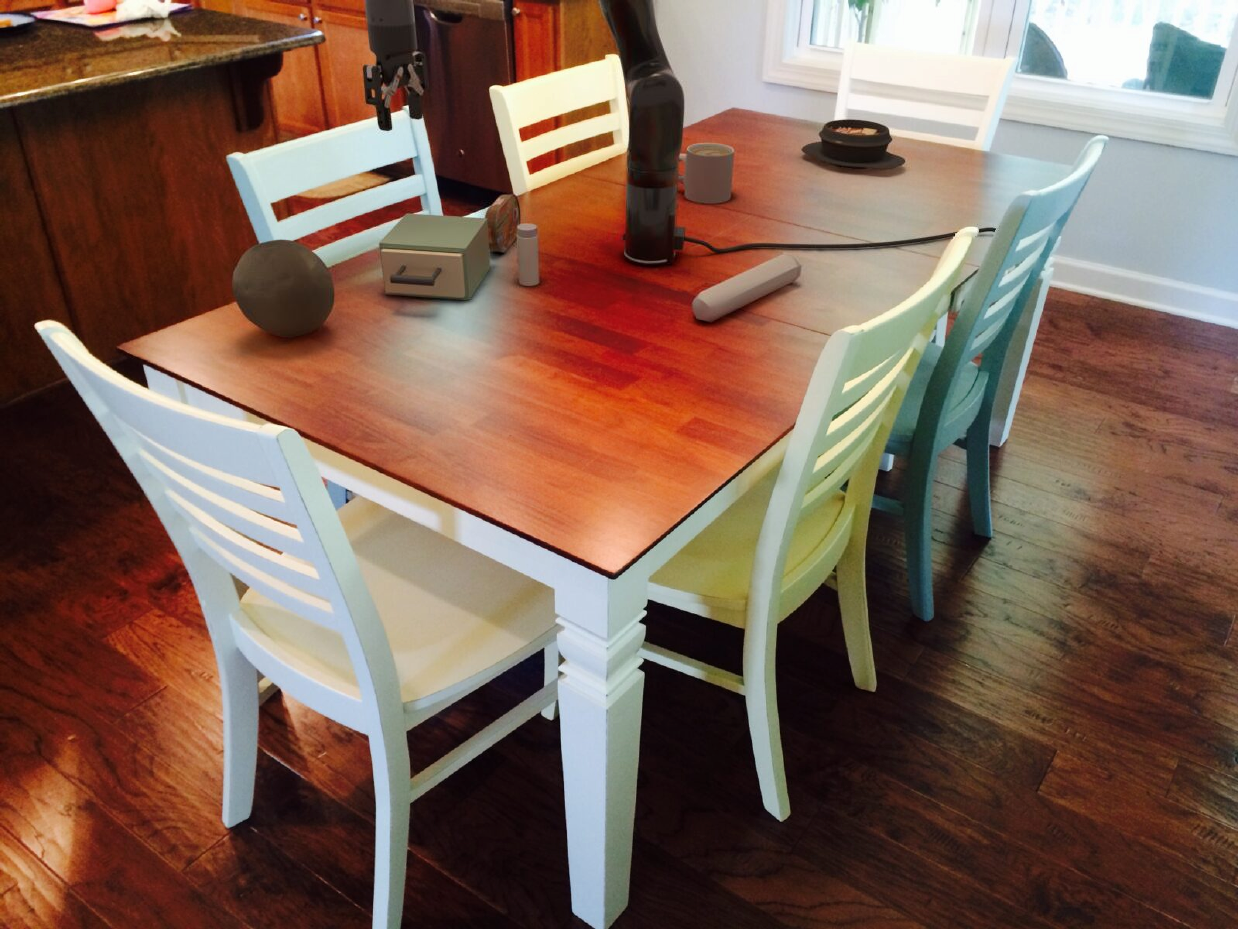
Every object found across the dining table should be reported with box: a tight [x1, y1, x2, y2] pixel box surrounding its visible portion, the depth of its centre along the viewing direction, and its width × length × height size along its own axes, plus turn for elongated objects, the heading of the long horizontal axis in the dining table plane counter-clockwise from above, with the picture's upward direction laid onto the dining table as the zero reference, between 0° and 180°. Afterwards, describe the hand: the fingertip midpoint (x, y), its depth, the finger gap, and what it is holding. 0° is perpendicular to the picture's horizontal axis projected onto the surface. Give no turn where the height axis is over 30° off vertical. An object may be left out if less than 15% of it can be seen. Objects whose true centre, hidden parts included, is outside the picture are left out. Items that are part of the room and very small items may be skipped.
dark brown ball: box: [231, 239, 336, 338], centre depth 149 cm, size 14×14×15 cm
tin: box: [484, 193, 522, 254], centre depth 185 cm, size 15×3×8 cm, turn 168°
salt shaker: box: [516, 222, 540, 287], centre depth 169 cm, size 4×4×10 cm
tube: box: [691, 251, 803, 323], centre depth 165 cm, size 5×5×25 cm
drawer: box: [380, 248, 465, 298], centre depth 166 cm, size 19×13×7 cm
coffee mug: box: [678, 142, 735, 205], centre depth 211 cm, size 13×10×10 cm
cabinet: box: [378, 213, 491, 301], centre depth 170 cm, size 15×15×9 cm
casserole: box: [800, 118, 906, 171], centre depth 233 cm, size 25×19×8 cm
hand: (401, 124), depth 166 cm, fingers open, 8 cm apart
